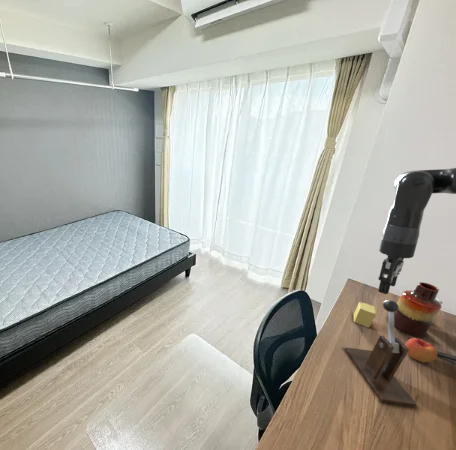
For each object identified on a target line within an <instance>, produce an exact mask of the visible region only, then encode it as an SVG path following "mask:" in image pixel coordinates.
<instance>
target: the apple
mask: <svg viewBox="0 0 456 450" xmlns="http://www.w3.org/2000/svg"><path fill="white" fill-rule="evenodd" d="M405 346H406V347H407V348H408V349H409V351H408V352H407V355H408V356H409V357H410V358H411V359H413V360H415V361H418V362H421V363H431V362H433V361H434V360H436V359H437V357H438V350H437V348H435V346H434V345H433V344H431V343H430V342H427V341H425V340H423V339H421V338H418V337H412V338H409V339H408V340H407V341H406V342H405Z"/></svg>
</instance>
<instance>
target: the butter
mask: <svg viewBox="0 0 456 450" xmlns="http://www.w3.org/2000/svg"><path fill="white" fill-rule="evenodd" d="M376 316H377V312H376V307H375V306H374V305H372V304H368V303H365V302H361V301H359V302H358V304H357V306H356V308H355V310H354V313H353V323H354V324H355V323H356V324H358V325H360V326H363V327H366V328H370V327H371V326H372V323H373V321H374V319H375V317H376Z"/></svg>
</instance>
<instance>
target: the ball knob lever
mask: <svg viewBox="0 0 456 450" xmlns="http://www.w3.org/2000/svg"><path fill="white" fill-rule="evenodd" d="M382 307H383V309H384V310H385V311H387V340H388V341H389V342H390V343H391V345H392V346H393V347H394V349H393V351H392V353H399V343H396V342H395V337H396V335H395V334H396V332H395V327H394V312H396V311H397V310H398V309H399V306H398V304H397V302H396V301H394V300H391V299H387V300H384V301H383V302H382Z"/></svg>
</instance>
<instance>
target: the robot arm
mask: <svg viewBox="0 0 456 450" xmlns="http://www.w3.org/2000/svg"><path fill="white" fill-rule="evenodd" d="M393 188H394V189H395V191H396V194H395V197H394V200H393V201H394V202H393V204H392V205H391V207H390V208H389V212H388V215H387V219H386V223H385V226H384V228H383V231H382V236H381V240H380V244H379V248H378V251H379V252H380V253H381V254H383V255H385V256H387V257H385V258H384V259H383V261H382V263H381V264H382V265H381V268H380V271H379V272H380V273H379V276H378V281H380V282H379V285H378V290H377V292H378V293H381V294H384V295H388V294H389V292H390V288H391V287H395V286H396V285H397V281H398V276H399V275H400V274H401V272H402V269H403V266H404V264H405V259H411V258H413V257H415V252H416V249H417V245H418V241H419V237H420V229H421V225H422V222H423V216H424V212H425V209H426V208H427V206H428V204H429V202H430V199H431V197H432V194H450V195H456V167H452V168H441V169H440V168H439V169H437V168H436V169H420V170H417V169H416V170H409V171H405V172H402V173H401V174H399V175H397V176H396V178H395V179H394V181H393ZM385 276H386V277H385Z"/></svg>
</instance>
